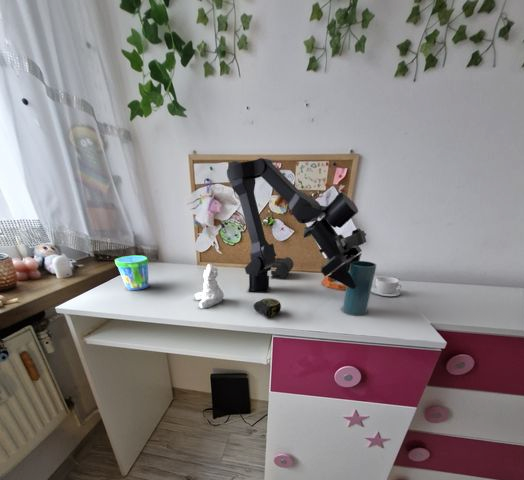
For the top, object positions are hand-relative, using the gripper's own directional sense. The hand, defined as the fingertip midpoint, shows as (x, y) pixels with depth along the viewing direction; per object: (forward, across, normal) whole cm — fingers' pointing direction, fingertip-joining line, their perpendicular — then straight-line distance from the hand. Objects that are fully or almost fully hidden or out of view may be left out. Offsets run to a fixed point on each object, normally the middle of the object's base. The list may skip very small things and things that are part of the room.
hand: (359, 283), depth 78 cm
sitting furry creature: (-23, -19, +35) cm, 46 cm away
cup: (+6, 0, +6) cm, 8 cm away
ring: (-3, +23, +14) cm, 27 cm away
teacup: (+9, +22, +3) cm, 24 cm away
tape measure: (-8, -17, +20) cm, 28 cm away
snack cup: (-46, -23, +57) cm, 76 cm away
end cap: (-20, +20, +31) cm, 42 cm away
